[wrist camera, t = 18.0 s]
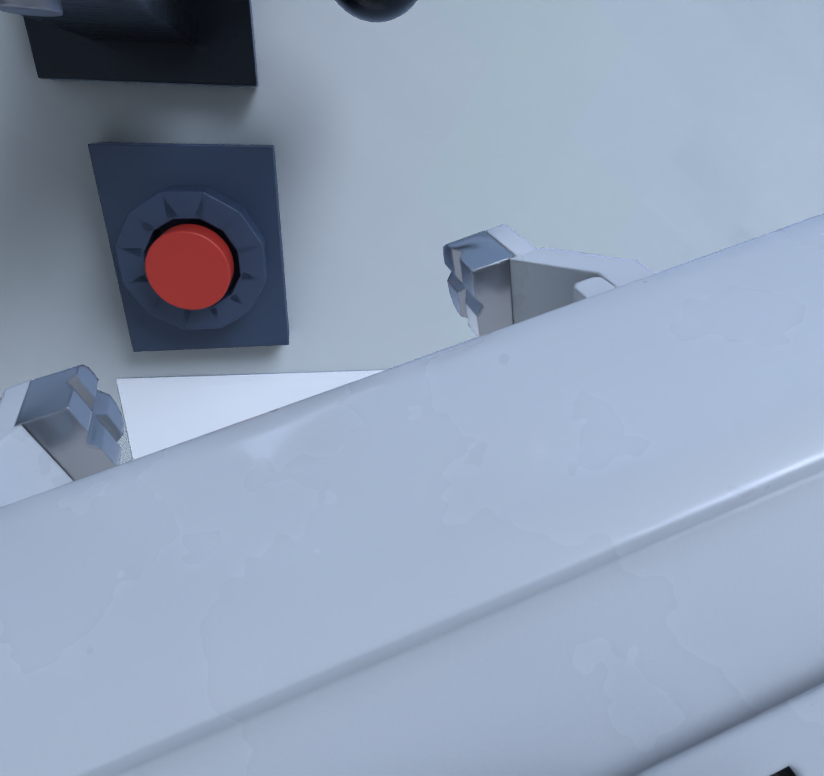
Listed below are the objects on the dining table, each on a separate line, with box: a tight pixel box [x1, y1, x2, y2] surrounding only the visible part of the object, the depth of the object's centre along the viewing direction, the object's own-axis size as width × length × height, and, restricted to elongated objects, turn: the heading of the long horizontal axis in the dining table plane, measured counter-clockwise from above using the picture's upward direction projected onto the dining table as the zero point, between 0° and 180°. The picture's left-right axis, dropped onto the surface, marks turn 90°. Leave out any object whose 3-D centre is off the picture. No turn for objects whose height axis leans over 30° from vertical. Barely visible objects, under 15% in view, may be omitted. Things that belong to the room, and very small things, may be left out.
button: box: [145, 224, 234, 310], centre depth 25 cm, size 4×4×2 cm
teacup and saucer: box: [116, 370, 384, 460], centre depth 34 cm, size 9×8×4 cm
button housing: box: [88, 142, 289, 352], centre depth 27 cm, size 10×8×4 cm
